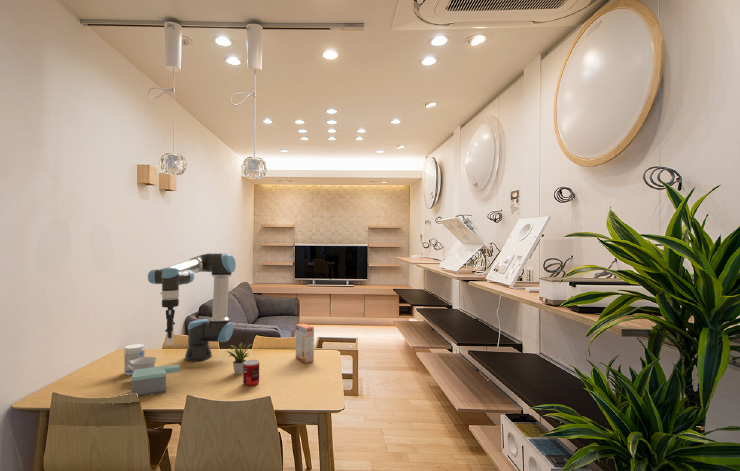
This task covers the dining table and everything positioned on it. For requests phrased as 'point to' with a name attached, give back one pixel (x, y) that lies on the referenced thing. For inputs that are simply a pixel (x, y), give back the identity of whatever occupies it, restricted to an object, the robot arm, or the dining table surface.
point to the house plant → (239, 358)
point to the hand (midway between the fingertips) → (170, 341)
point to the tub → (149, 386)
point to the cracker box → (305, 342)
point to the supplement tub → (132, 355)
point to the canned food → (251, 372)
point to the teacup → (142, 363)
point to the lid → (154, 372)
